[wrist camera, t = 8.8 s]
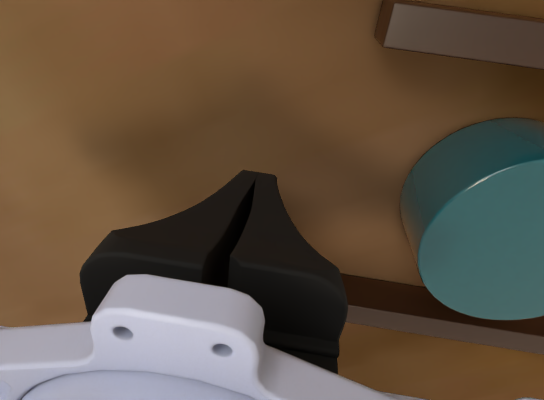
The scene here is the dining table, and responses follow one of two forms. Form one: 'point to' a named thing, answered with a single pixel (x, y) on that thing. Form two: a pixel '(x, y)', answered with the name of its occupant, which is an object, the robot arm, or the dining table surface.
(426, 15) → the walnut bay
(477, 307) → the teal puck
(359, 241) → the dining table surface
